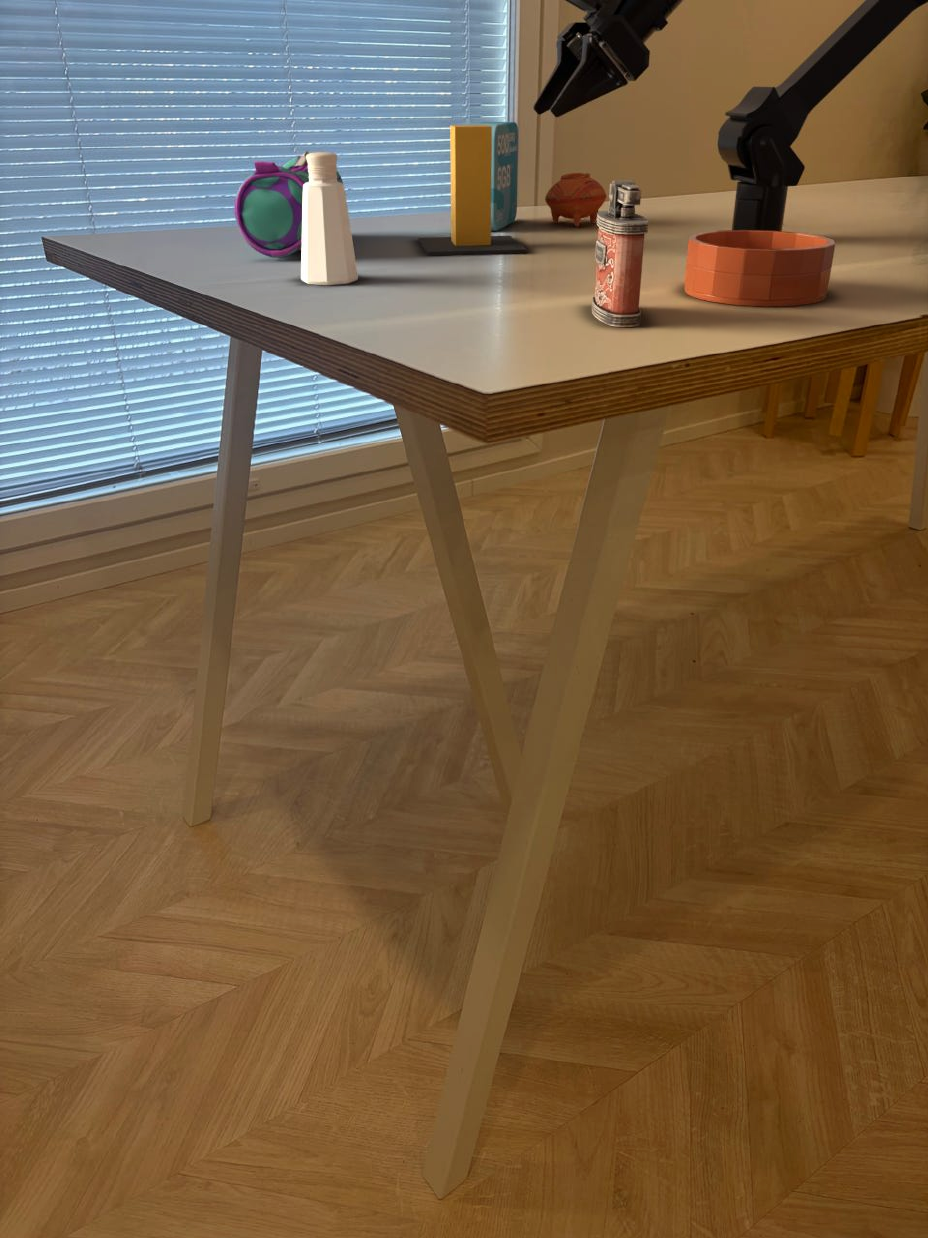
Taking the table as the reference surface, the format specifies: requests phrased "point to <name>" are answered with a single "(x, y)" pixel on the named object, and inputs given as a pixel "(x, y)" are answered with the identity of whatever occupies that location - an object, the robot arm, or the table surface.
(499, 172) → the data package
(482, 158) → the block
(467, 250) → the mat
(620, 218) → the lighter
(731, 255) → the bowl
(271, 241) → the pencil case
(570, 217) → the pot
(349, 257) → the pepper shaker
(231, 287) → the table surface
